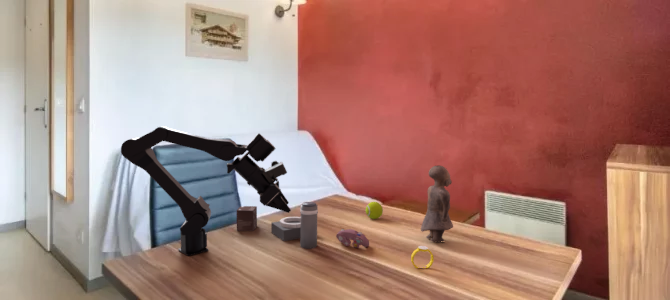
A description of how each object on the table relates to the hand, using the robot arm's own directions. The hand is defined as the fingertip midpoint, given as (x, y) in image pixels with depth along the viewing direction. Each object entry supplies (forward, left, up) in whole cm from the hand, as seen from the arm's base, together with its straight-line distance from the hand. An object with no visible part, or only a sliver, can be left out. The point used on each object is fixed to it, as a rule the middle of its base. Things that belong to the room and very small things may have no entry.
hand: (288, 207), depth 123 cm
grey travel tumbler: (+5, -4, -12) cm, 14 cm away
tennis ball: (+44, +1, -13) cm, 46 cm away
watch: (+16, -38, -13) cm, 43 cm away
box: (+1, +24, -13) cm, 27 cm away
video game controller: (+15, -13, -13) cm, 24 cm away
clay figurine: (+39, -29, -13) cm, 50 cm away
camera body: (+9, +8, -12) cm, 17 cm away
